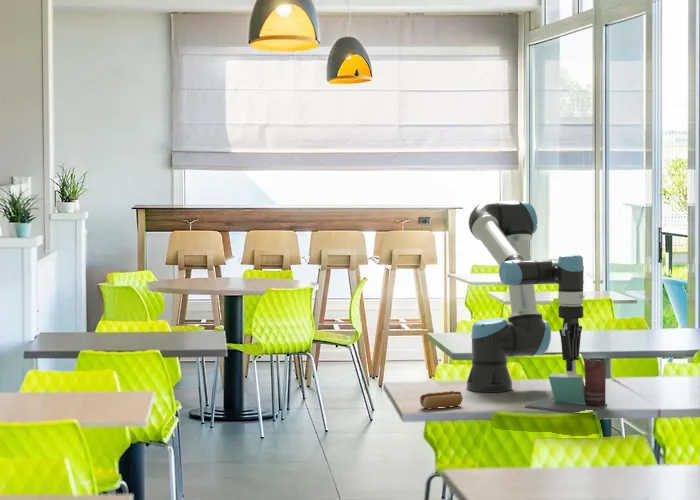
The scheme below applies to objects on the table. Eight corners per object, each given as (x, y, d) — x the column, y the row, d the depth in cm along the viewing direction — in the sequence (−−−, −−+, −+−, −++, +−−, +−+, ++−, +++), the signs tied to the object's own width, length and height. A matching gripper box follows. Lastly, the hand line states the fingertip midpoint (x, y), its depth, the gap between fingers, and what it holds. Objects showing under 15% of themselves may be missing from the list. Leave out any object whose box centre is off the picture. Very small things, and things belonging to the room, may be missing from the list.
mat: (524, 407, 326) (524, 405, 326) (546, 399, 339) (546, 397, 339) (587, 414, 314) (587, 412, 314) (606, 405, 328) (606, 403, 328)
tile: (554, 401, 332) (548, 377, 329) (557, 397, 333) (551, 373, 330) (585, 403, 326) (579, 378, 323) (587, 399, 328) (581, 374, 325)
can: (581, 403, 328) (581, 358, 328) (601, 402, 329) (601, 357, 328) (587, 407, 322) (587, 361, 322) (608, 406, 323) (608, 360, 322)
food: (425, 411, 322) (425, 395, 322) (417, 408, 327) (417, 392, 327) (465, 407, 328) (465, 391, 327) (456, 404, 333) (456, 388, 332)
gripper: (574, 307, 321) (574, 385, 322) (590, 303, 332) (590, 379, 333) (551, 306, 325) (551, 383, 326) (567, 302, 336) (567, 377, 337)
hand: (570, 381), depth 329 cm, fingers closed
